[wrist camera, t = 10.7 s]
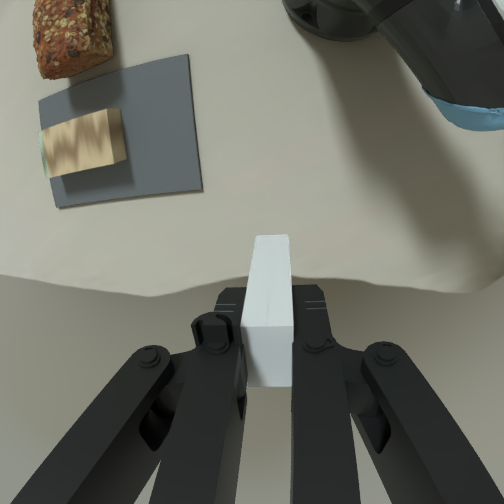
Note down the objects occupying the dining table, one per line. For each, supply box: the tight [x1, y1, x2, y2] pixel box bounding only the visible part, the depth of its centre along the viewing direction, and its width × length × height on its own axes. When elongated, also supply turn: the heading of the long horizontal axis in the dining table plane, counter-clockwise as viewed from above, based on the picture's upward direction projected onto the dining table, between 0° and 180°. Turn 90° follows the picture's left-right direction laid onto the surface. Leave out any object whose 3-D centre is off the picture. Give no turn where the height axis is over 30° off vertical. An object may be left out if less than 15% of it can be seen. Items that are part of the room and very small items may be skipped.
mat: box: [38, 54, 202, 208], centre depth 40 cm, size 20×28×1 cm
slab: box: [38, 108, 127, 179], centre depth 39 cm, size 8×4×14 cm
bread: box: [33, 0, 114, 80], centre depth 28 cm, size 19×11×10 cm, turn 9°
